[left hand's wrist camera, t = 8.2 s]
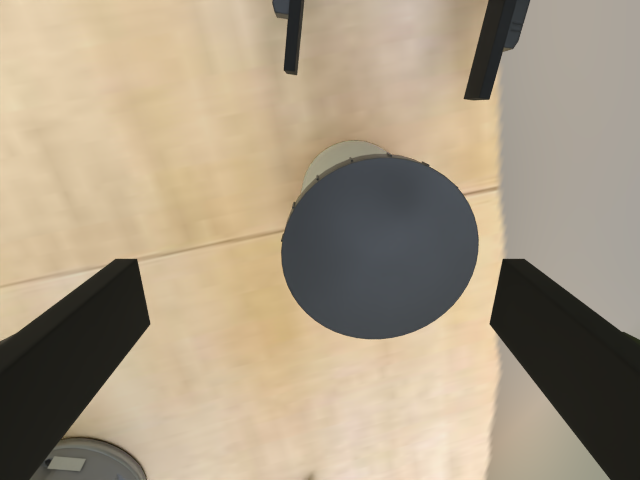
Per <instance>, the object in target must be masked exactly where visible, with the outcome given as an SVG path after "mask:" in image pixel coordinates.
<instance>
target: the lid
mask: <svg viewBox="0 0 640 480" xmlns="http://www.w3.org/2000/svg"><path fill="white" fill-rule="evenodd" d="M281 242H282V249H281V256H282V267H283V273H284V276H285V279H286V282H287V285H288V287H289V289H290V291H291V293H292V295H293V297H294V298H295V300H296V301H297V303H298V304H299V305H300V307H301V308H302V309H303V310H304V311H305V312H306V313H307V314H308V315H309V316H310V317H312V318H313V319H314V320H315V321H317V322H318V323H320V324H321V325H323V326H324V327H326V328H328V329H330V330H332V331H334V332H337V333H340V334H343V335H346V336H350V337H355V338H362V339H386V338H393V337H398V336H402V335H405V334H408V333H411V332H414V331H416V330H419V329H421V328H423V327H425V326H427V325H428V324H430V323H432V322H433V321H435V320H436V319H438V318H439V317H440V316H442V315H443V314H444V313H445V312H446V311H447V310H449V309H450V308H451V307H452V306H453V305H454V303H455V302H456V301H457V300H458V299H459V297H460V296H461V295H462V293H463V292H464V290H465V288H466V287H467V285H468V283H469V281H470V279H471V277H472V275H473V271H474V268H475V265H476V261H477V255H478V242H479V239H478V230H477V225H476V221H475V217H474V214H473V212H472V210H471V207H470V205H469V203H468V202H467V200H466V198H465V197H464V195H463V194H462V193H461V191H460V190H459V189H458V187H457V186H455V184H453V183H452V182H451V181H450V180H449V179H448V178H446V177H445V176H444V175H442V174H441V173H439V172H438V171H436V170H434V169H433V168H431V167H429V164H427V163H425V162H423V161H422V163H421V162H418V161H416V160H414V159H411V158H407V157H404V156H399V155H392V154H390V153H388V152H387V154H370V155H363V156H358V157H355V158H351V157H349V159H348V160H345V161H343V162H341V163H338V164H336V165H334V166H332V167H331V168H329V169H327V170H325V171H324V172H323V173H321V174H320V175H319V176H318V175H316V178H315V179H314V180H313V181H312V182H311V183H310V184H309V185H308V186H307V187H306V188H305V189H304V191H303V192H302V193H301V195H300V196H299V197H298V199H297V201H296V202H294V203H293V206H292V210H291V212H290V215H289V217H288V220H287V224H286V227H285V231H284V234H283V236H282V239H281Z"/></svg>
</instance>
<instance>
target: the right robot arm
mask: <svg viewBox="0 0 640 480" xmlns="http://www.w3.org/2000/svg"><path fill="white" fill-rule="evenodd" d="M529 2H530V0H489V2H488V6H487V9H486V13H485V17H484V21H483V25H482V29H481V33H480V37H479V41H478V45H477V49H476V53H475V57H474V60H473V64H472V68H471V72H470V76H469V80H468V84H467V88H466V92H465V96H464V99H468V100H489V99H490V95H491V92H492V88H493V84H494V81H495V77H496V74H497V70H498V67H499V63H500V59H501V56H502V52H504V51H508V50H511V49H513V48H514V47H515V45H516V44H517V42H518V40H519V37H520V34H521V30H522V26H523V23H524V20H525V16H526V13H527V9H528V6H529ZM272 3H273V7H274V11H275V14H276V16H277V18H283V19H288V25H287V37H286V49H285V61H284V71H285V72H286V73H287V74H293V75H297V70H298V60H299V49H300V39H301V29H302V18H303V8H304V0H273V2H272Z"/></svg>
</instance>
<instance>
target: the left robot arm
mask: <svg viewBox="0 0 640 480" xmlns="http://www.w3.org/2000/svg"><path fill="white" fill-rule="evenodd" d="M149 325H150V320H149V315H148V310H147V305H146V300H145V295H144V290H143V285H142V281H141V276H140V271H139V266H138V261H137V259H115V260H114V261H112V262H111V263H110V264H108V265H107V266H106V267H104V268H103V269H102V270H100V271H99V272H98V273H96V274H95V275H94V276H92V277H91V278H90V279H88V280H87V281H86V282H84V283H83V284H82V285H80V286H79V287H78V288H76V289H75V290H74V291H72V292H71V293H70V294H68V295H67V296H66V297H64V298H63V299H62V300H60V301H59V302H58V303H56V304H55V305H54V306H52V307H51V308H50V309H48V310H47V311H46V312H44V313H43V314H42V315H40V316H39V317H38V318H36V319H35V320H34V321H32V322H31V323H30V324H28V325H27V326H26V327H24V328H23V329H22V330H20V331H19V332H18V333H16V334H14V335H12V336H10V337H8V338H6V339H4V340H2V341H0V480H146V477H145V474H144V472H143V470H142V468H141V467H140V465H139V464H138V463H137V462H136V461H135V460H134V459H133V458H132V457H131V456H130V455H129V454H127V453H126V452H124V451H123V450H121V449H119V448H117V447H115V446H113V445H111V444H108V443H105V442H102V441H98V440H93V439H87V438H69V439H63V440H61V438H62V437H63V436H64V435H65V433H66V432H67V431H68V429H69V428H70V427H71V426H72V424H73V423H74V422H75V420H76V419H77V418H78V417H79V415H80V414H81V413H82V411H83V410H84V409H85V408H86V406H87V405H88V404H89V402H90V401H91V400H92V399H93V397H94V396H95V395H96V393H97V392H98V391H99V390H100V388H101V387H102V386H103V384H104V383H105V382H106V381H107V379H108V378H109V377H110V375H111V374H112V373H113V372H114V370H115V369H116V368H117V366H118V365H119V364H120V363H121V361H122V360H123V359H124V357H125V356H126V355H127V354H128V352H129V351H130V350H131V348H132V347H133V346H134V345H135V343H136V342H137V341H138V339H139V338H140V337H141V336H142V334H143V333H144V332H145V330H146V329H147V328H148V327H149ZM490 325H491V327H492V328H493V329H494V330H495V332H496V333H497V334H498V336H499V337H500V338H501V339H502V341H503V342H504V343H505V345H506V346H507V347H508V348H509V350H510V351H511V352H512V353H513V355H514V356H515V357H516V359H517V360H518V361H519V363H520V364H521V365H522V366H523V368H524V369H525V370H526V371H527V373H528V374H529V375H530V377H531V378H532V379H533V381H534V382H535V383H536V384H537V386H538V387H539V388H540V389H541V391H542V392H543V393H544V395H545V396H546V397H547V399H548V400H549V401H550V402H551V404H552V405H553V406H554V408H555V409H556V410H557V411H558V413H559V414H560V415H561V416H562V418H563V419H564V420H565V422H566V423H567V424H568V426H569V427H570V428H571V429H572V431H573V432H574V433H575V435H576V436H577V437H578V438H579V440H580V441H581V442H582V444H583V445H584V446H585V447H586V449H587V450H588V451H589V453H590V454H591V455H592V456H593V458H594V459H595V460H596V462H597V463H598V464H599V465H600V467H601V468H602V469H603V471H604V472H605V473H606V474H607V476H608V477H609V478H610V480H640V340H639V339H637V338H635V337H633V336H631V335H629V334H627V333H625V332H621V331H620V330H618V329H617V328H616V327H614V326H613V325H612V324H610V323H609V322H608V321H606V320H605V319H604V318H602V317H601V316H600V315H598V314H597V313H596V312H594V311H593V310H592V309H590V308H589V307H588V306H586V305H585V304H584V303H582V302H581V301H580V300H578V299H577V298H576V297H574V296H573V295H572V294H570V293H569V292H568V291H566V290H565V289H564V288H562V287H561V286H560V285H558V284H557V283H556V282H554V281H553V280H552V279H550V278H549V277H548V276H546V275H545V274H544V273H542V272H541V271H540V270H538V269H537V268H536V267H534V266H533V265H532V264H530V263H529V262H528V261H526V260H525V259H503V261H502V266H501V271H500V276H499V281H498V285H497V290H496V295H495V300H494V305H493V310H492V315H491V320H490Z"/></svg>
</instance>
